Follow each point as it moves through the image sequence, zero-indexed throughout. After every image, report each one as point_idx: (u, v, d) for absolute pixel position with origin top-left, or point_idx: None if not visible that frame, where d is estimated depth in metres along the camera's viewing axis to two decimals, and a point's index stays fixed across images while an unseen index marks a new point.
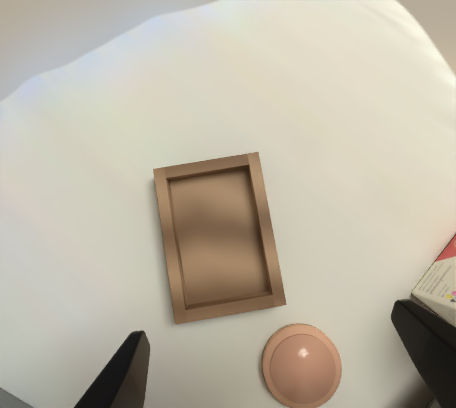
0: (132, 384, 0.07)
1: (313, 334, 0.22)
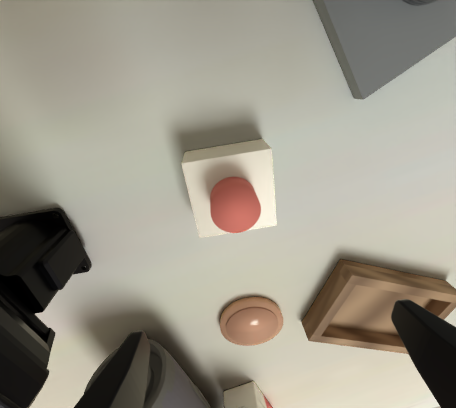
0: (132, 384, 0.07)
1: (269, 337, 0.28)
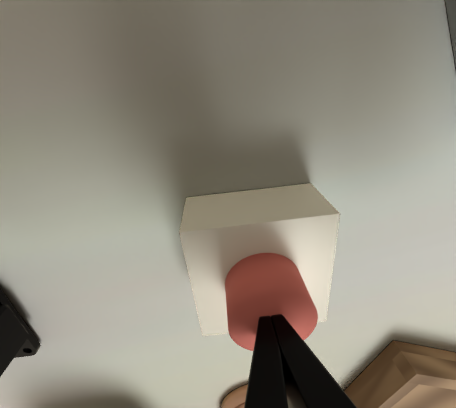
0: None
1: None
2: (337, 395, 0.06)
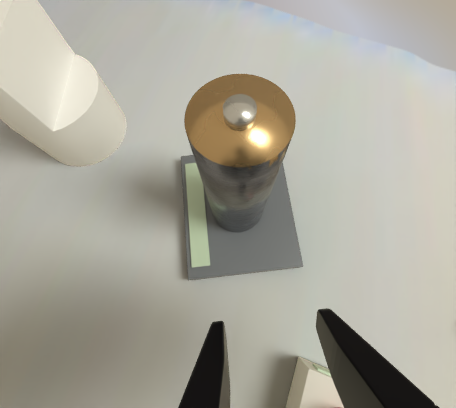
0: (226, 372, 0.07)
1: None
2: (407, 386, 0.06)
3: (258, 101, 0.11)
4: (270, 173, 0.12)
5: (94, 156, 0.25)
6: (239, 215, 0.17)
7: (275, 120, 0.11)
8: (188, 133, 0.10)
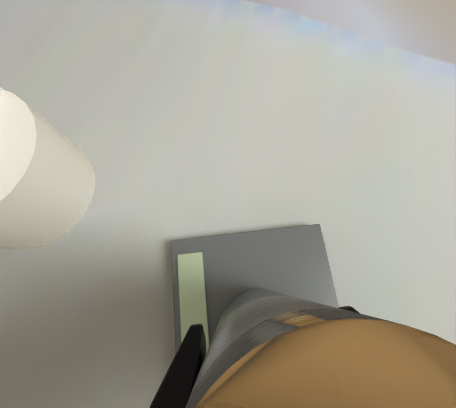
0: None
1: None
2: None
3: None
4: None
5: (42, 238, 0.17)
6: None
7: None
8: None
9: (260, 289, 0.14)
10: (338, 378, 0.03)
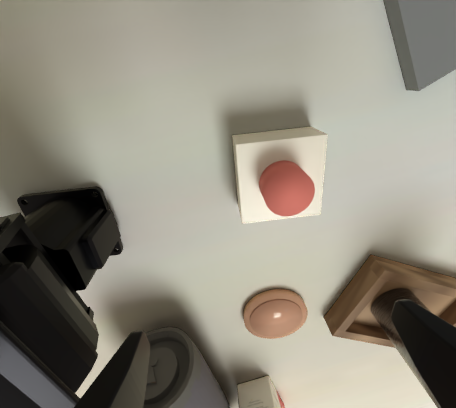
0: (132, 384, 0.07)
1: (291, 330, 0.28)
2: None
3: None
4: None
5: None
6: None
7: None
8: None
9: None
10: None
